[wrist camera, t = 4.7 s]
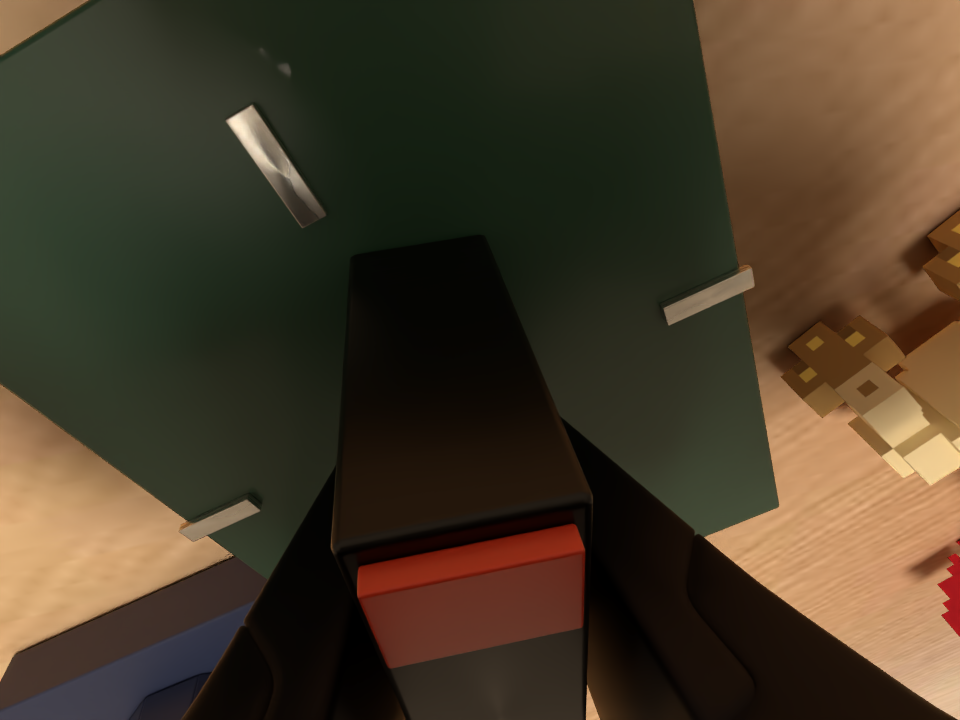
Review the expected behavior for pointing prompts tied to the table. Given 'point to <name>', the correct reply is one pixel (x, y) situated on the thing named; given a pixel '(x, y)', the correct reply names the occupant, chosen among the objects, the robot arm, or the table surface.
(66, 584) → the table surface
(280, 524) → the panel
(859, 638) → the table surface
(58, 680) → the button housing
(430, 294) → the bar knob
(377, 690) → the robot arm
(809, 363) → the cream long blocky figurine
